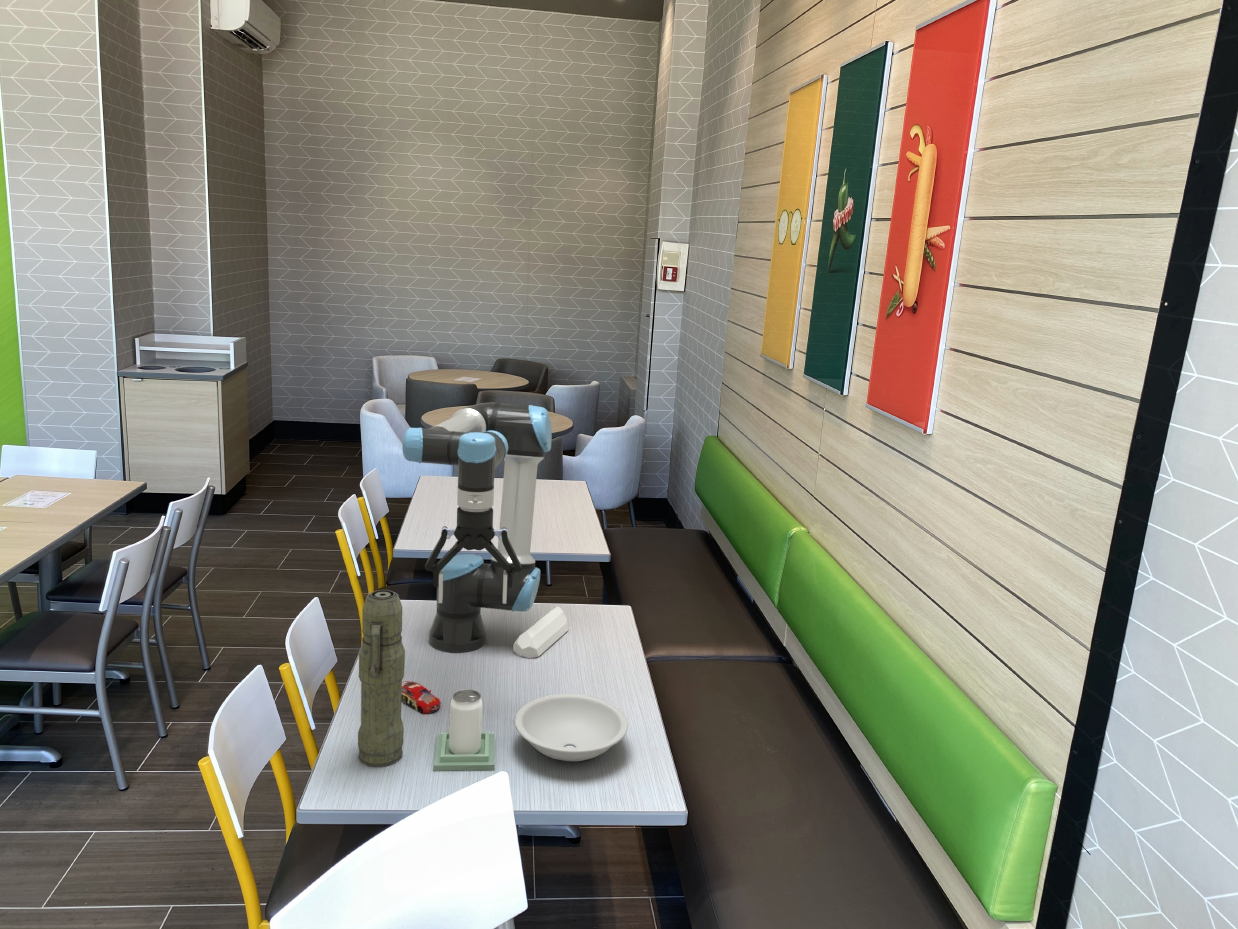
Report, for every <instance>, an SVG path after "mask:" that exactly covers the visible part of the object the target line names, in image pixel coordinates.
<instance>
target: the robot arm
mask: <svg viewBox="0 0 1238 929" xmlns="http://www.w3.org/2000/svg"><path fill="white" fill-rule="evenodd" d="M552 433H553V432H552V422H551V417H550V413H549V411H548V409H546V408H545V407H543V406H537V405H532V404H515V403H505V402H504V403H502V402H481V403H477V404H473V405H468V406H467V407H463V408H461V409H458V410H457V411H455V412H454V413H453V414H452V416H451V417H450V418H448V419H447V420H444V421H443V422H439V423H438V424H436V425H434V426H432V427H429V428H424V427H409V428H408V429H406V431H405V432H404V435H403V439H402V446H401V447H402V448H401V449H402V455H403V457H404V459H405V460H406V461H409V462H412V463H413V462H414V463H418V464H434V465H444V466H445V465H446V466H455V467H456V466H457V496H456V497H457V498H456V499H457V500H456V501H457V504H456V505H457V506H458V507H457V508H456V527H455V529H454V528H448V527H447V526H445V525H444V526H443V527H441V534H440V537H439V539H438V541H437V542H436V545H435V546H434V547H433V550H432V551H431V554H430V555H429V556H428V559H427V560H426V562H425V565H424V570H425V571H426V572H431V573H432V574H433V576H432V577H433V578H432V579H433V583H432V584H433V587H434V588H436V610H435V611H436V613H435V616H434V619H433V622H432V625H431V627H430V629H429V633H428V643H429V644H430V645H431V647H433V648H434V649H437V650H438V651H439V650H440V651H442V652H449V653H465V652H471V651H475V650H477V649H480V648H482V647H483V646H484V645H485V644H486V641H487V629H486V626H485V624H484V620H483V617H482V612H481V611H482V610H481V608H483V609H493V610H502V611H511V612H513V613H514V612H527V611H529V610H530V609H531V608H532V607H533V605H534V603H535V601H536V597H537V593H538V589H539V586H540V580H541V569H540V568H538V567H536V560H535V559H534V557H533V556H532V555H531V546H532V545H531V544H532V537H533V536H532V535H533V526H534V522H533V521H534V512H535V511H534V510H535V501H536V499H535V498H536V486H537V477H538V476H537V475H538V474H537V473H538V465H539V464H540V462H542V461H543V460H544V459H545V453H547V452H550V451H551V449H552V438H553V437H552ZM503 461H504V466H503V467H504V468H503V469H504V471H503V481H502V482H503V483H502V494H501V506H500V519H499V529H495V528H494V526H493V525H494V508H493V506H494V504H495V503H494V497H495V474H496V473H495V472H496V469H497V467H498V466H499V465H501V464H502V463H503ZM452 536H454V537H455V539H456V540H457V541H456V542H455V543H454V544H453V546H452V547H451V548H450V549H449V550H448V551H447V552H446V553H445V554H444V555H443V556H442V557H440V559H439V561H438V562H436V560H437V558H438V557H439V555H440V553H441V551H442V549H443V548H444V546H445V544H446V542H447V540H450V539H451V537H452ZM494 537H497V539H498V542H497V546H496V545H495V544H494V543H493V542H492V540H493V539H494ZM463 549H464V550H466V551H472V550H475V551H482V550H484V549H485V550H486V551H487V552H488V553H489V554H490V555H491V559H490V563H484V559H483V557H482V556H481V555H477V554H473V553H468V554H467V553H464V554H462V553H461V554H458V553H460V552H461V551H462V550H463ZM435 562H436V563H435Z"/></svg>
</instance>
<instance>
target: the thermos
mask: <svg viewBox="0 0 1238 929" xmlns="http://www.w3.org/2000/svg"><path fill="white" fill-rule="evenodd" d="M399 596H400V595H399V594H398V593H397V592H395V591H393V590H390V589H378V590H374V591H372V592H370V593H368V594H367V595H366V598H365V601H364V603H363V606H362V611H361V612H362V614H361V617H362V618H361V619H362V621H361V622H362V626H361V628H362V634H363V635H362V638H361V646H360V649H359V651H358V678H359V681H360V726H359V729H358V732H357V747H358V760H359V761H360V763H362V764H363V765H365V766H368V767H372V768H383V767H388V766H391V765H394V764H396V763H397V762H399V761H400V760H401V759H402V757H403V745H404V740H405V739H404V738H405V737H404V736H405V732H404V730H405V729H404V723H403V722H404V721H403V719H402V702H401V700H402V682H403V679H404V676H405V668H406V666H405V662H406V661H405V660H406V659H405V658H406V657H405V656H406V654H405V652H406V650H405V647H404V645H403V637H402V631H403V605H402V601H401V598H400V597H399Z"/></svg>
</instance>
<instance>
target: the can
mask: <svg viewBox="0 0 1238 929" xmlns="http://www.w3.org/2000/svg"><path fill="white" fill-rule="evenodd" d="M481 698H482V696H481V693H480V692H478V691H477V690H474V689H461V690H457V691H456V692H454V693H453V695H452V699H451V701H450V708H449V709H450V711H449V732H450V733H449V749H450V751H451V752H452V753H453V754H476V753H477V752H478V751H479V750H480V747H481V732H482V728H483V727H482V724H483V723H482V722H483V701H482V699H481Z"/></svg>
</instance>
